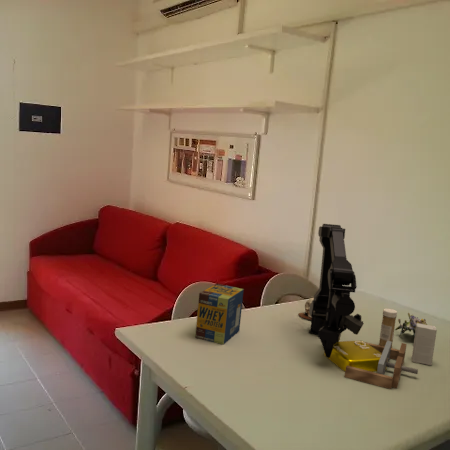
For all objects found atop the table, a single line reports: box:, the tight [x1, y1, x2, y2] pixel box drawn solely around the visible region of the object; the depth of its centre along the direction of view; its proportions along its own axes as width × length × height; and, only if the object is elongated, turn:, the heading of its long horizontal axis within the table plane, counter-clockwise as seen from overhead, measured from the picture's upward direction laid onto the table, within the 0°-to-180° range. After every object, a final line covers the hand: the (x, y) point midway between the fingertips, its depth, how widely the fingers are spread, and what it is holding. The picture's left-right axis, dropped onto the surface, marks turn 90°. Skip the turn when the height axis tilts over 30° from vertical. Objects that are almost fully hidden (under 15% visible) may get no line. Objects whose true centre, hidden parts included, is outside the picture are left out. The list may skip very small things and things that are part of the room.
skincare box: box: [411, 323, 438, 366], centre depth 160 cm, size 6×4×12 cm
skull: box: [298, 297, 314, 320], centre depth 197 cm, size 12×10×10 cm
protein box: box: [195, 283, 245, 345], centre depth 168 cm, size 10×15×16 cm
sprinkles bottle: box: [378, 308, 398, 348], centre depth 170 cm, size 5×5×13 cm
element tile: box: [323, 340, 389, 373], centre depth 156 cm, size 15×15×5 cm
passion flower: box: [394, 312, 428, 338], centre depth 181 cm, size 11×11×12 cm
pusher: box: [376, 341, 419, 375], centre depth 150 cm, size 10×21×6 cm, turn 155°
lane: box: [344, 341, 407, 390], centre depth 152 cm, size 14×25×6 cm, turn 155°
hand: (331, 352), depth 158 cm, fingers open, 9 cm apart
